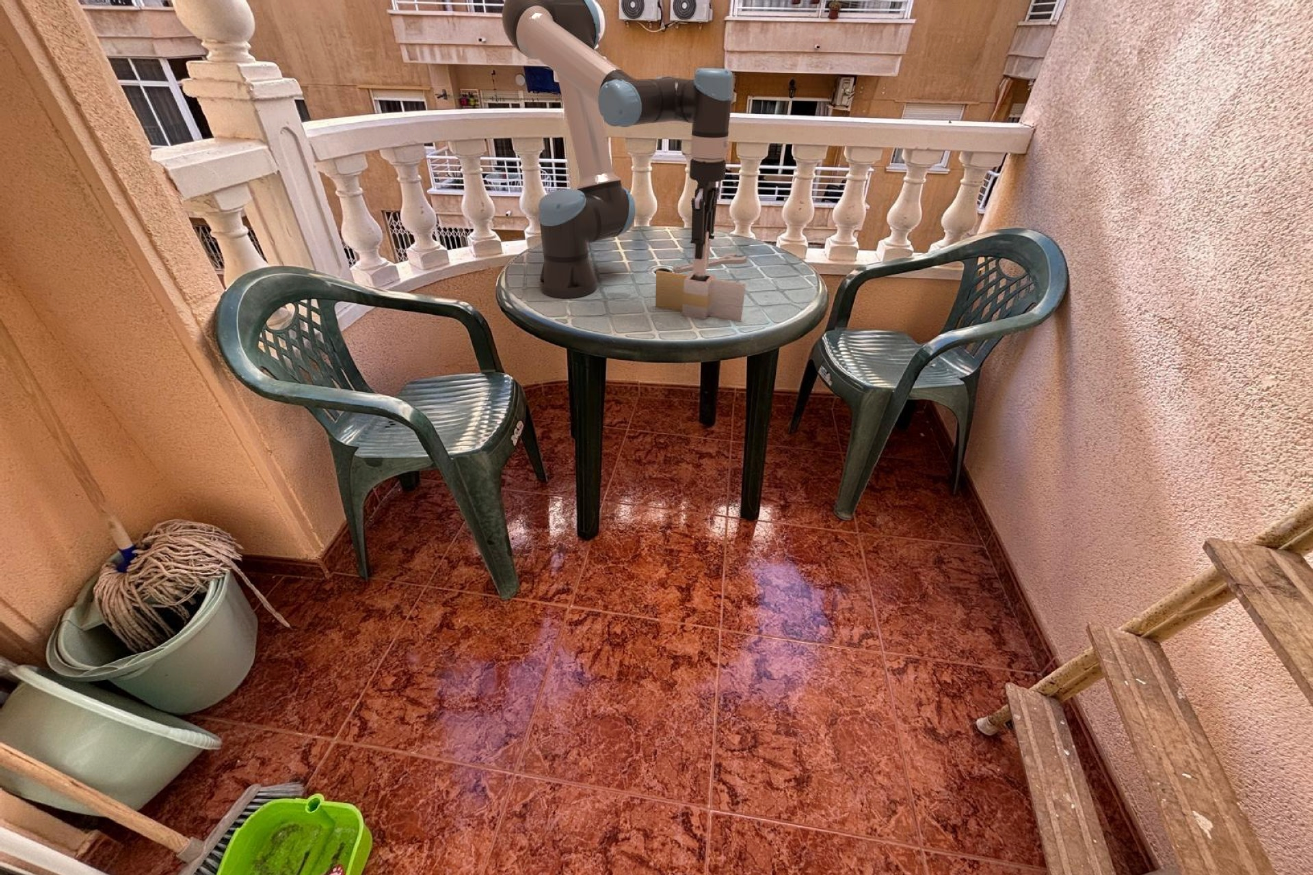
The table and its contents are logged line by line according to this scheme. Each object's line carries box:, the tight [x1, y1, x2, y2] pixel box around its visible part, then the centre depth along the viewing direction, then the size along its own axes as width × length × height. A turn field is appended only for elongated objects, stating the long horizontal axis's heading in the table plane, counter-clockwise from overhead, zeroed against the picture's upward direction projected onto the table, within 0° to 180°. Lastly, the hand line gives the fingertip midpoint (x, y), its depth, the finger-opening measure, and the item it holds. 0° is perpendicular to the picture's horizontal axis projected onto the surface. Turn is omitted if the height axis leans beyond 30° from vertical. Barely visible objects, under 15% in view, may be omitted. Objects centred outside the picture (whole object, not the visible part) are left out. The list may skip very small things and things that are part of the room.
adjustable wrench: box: [672, 252, 747, 274], centre depth 160 cm, size 25×6×2 cm, turn 115°
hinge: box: [655, 270, 747, 322], centre depth 129 cm, size 22×6×9 cm, turn 69°
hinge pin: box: [695, 231, 709, 282], centre depth 125 cm, size 2×2×16 cm
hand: (700, 269), depth 125 cm, fingers closed on hinge pin, 2 cm apart
